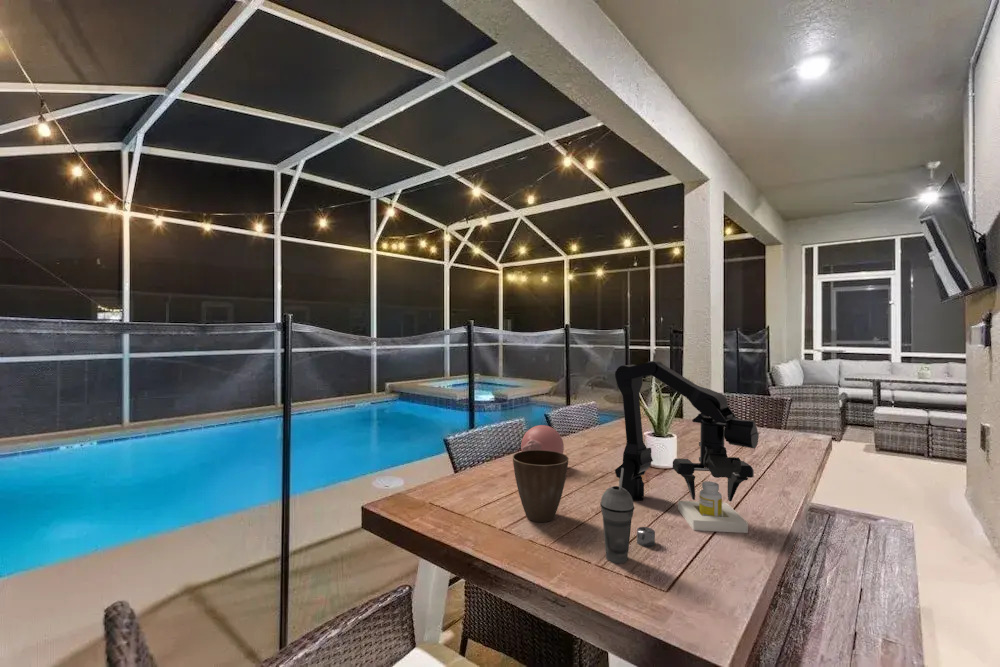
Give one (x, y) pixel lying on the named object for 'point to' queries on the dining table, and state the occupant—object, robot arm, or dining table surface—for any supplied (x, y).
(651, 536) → the short metal stub
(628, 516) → the beverage cup
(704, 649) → the dining table surface
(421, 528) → the dining table surface
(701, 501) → the supplement bottle
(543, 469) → the plant pot
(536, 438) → the balloon
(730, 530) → the hole plate
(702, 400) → the robot arm
